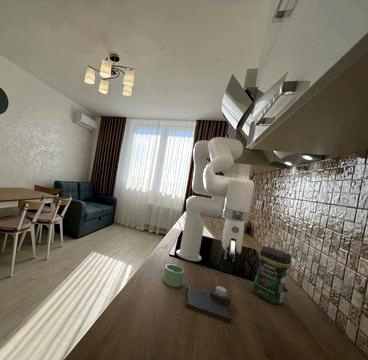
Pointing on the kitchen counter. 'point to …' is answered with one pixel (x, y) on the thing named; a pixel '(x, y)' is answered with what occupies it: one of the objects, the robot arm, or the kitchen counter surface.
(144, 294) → the kitchen counter surface
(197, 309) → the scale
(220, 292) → the power button
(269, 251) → the coffee jar
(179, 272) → the green cup
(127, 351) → the kitchen counter surface
